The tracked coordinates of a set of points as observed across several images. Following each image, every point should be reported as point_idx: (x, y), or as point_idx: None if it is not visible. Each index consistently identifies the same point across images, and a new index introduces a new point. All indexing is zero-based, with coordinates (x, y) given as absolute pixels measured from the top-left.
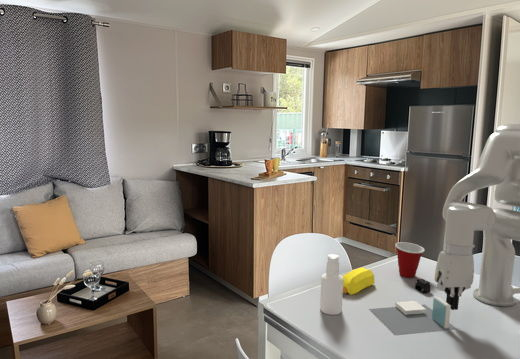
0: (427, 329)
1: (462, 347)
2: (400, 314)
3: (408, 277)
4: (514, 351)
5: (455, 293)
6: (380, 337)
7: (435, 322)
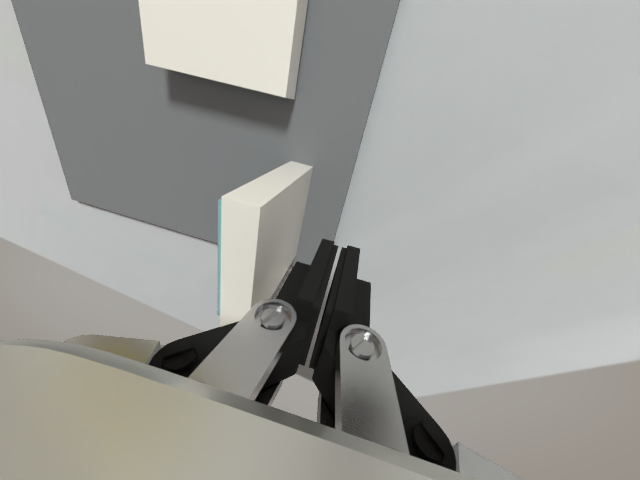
0: (205, 224)
1: None
2: None
3: None
4: None
5: (319, 379)
6: (30, 180)
7: None
